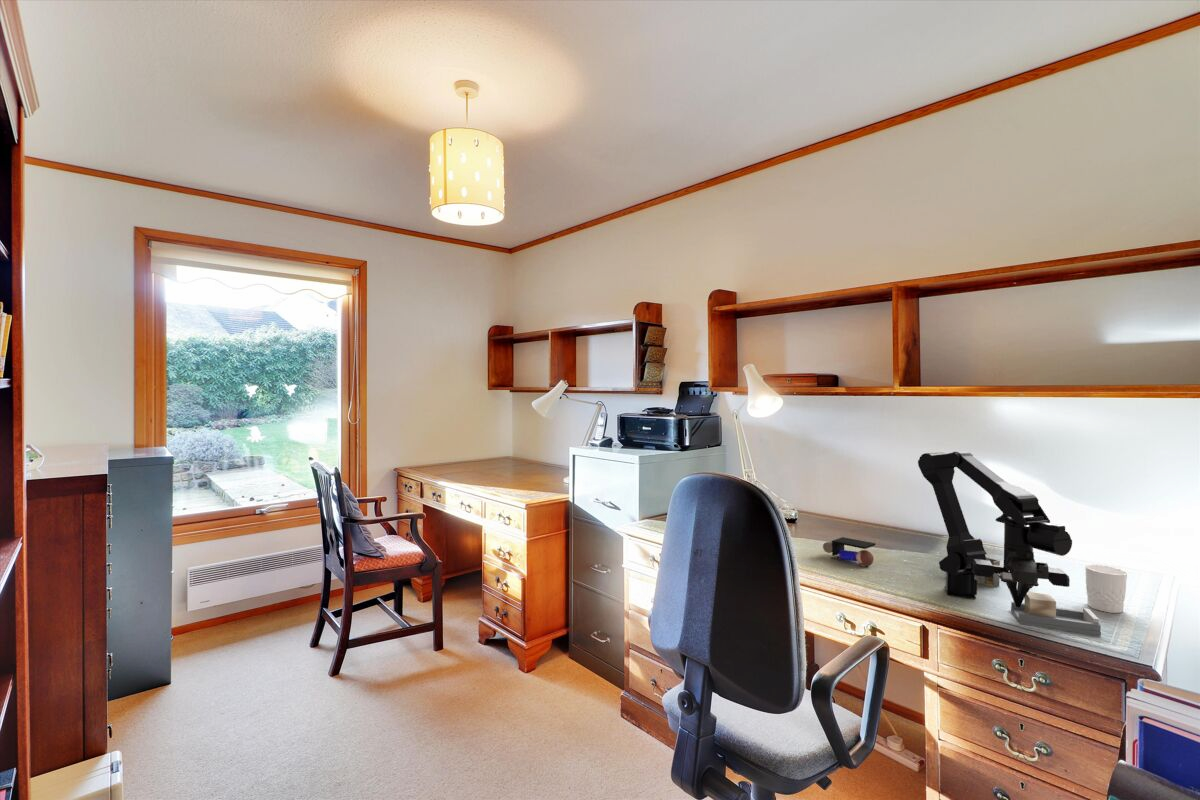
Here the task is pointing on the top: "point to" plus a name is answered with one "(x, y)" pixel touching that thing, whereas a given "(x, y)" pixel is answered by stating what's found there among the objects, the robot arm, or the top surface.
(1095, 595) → the white cup
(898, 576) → the top surface
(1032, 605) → the birch block
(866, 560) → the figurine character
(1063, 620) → the chute
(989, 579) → the brown piece
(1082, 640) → the top surface
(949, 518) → the robot arm
